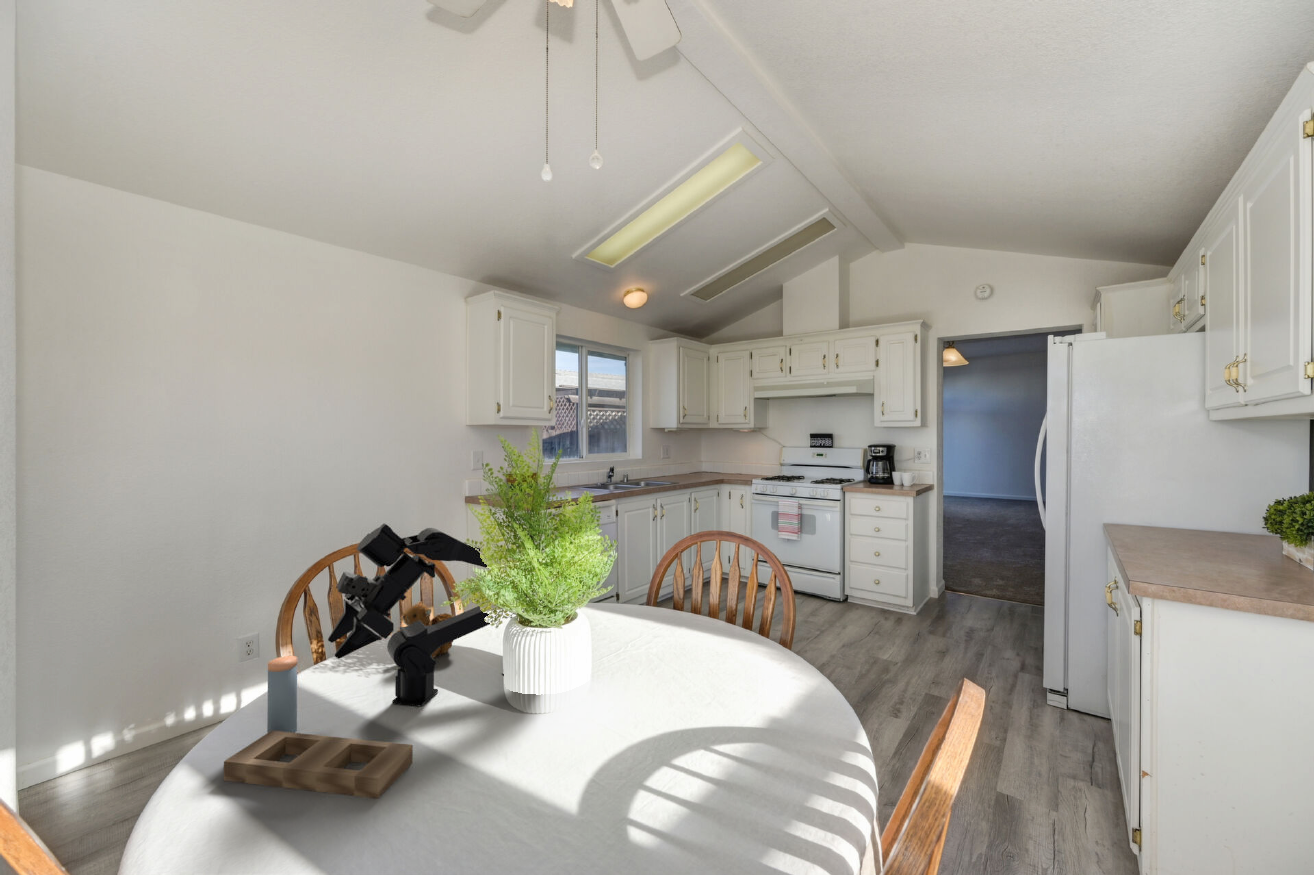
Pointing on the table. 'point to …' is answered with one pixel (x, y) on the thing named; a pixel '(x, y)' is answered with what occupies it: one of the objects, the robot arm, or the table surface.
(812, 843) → the table surface
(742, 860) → the table surface
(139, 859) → the table surface
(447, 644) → the stuffed squirrel
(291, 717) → the peg
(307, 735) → the wooden peg holder
